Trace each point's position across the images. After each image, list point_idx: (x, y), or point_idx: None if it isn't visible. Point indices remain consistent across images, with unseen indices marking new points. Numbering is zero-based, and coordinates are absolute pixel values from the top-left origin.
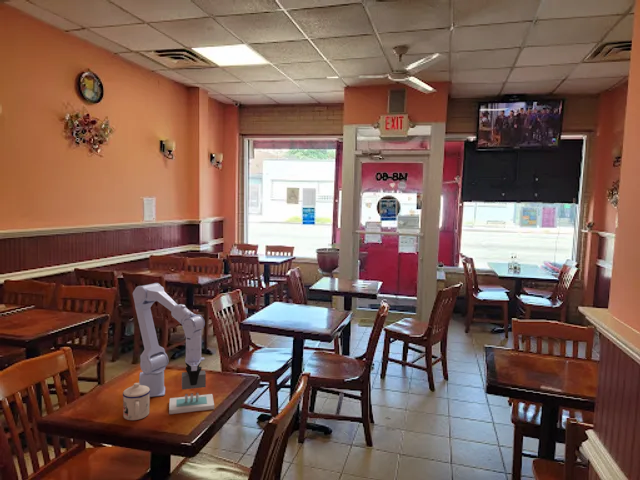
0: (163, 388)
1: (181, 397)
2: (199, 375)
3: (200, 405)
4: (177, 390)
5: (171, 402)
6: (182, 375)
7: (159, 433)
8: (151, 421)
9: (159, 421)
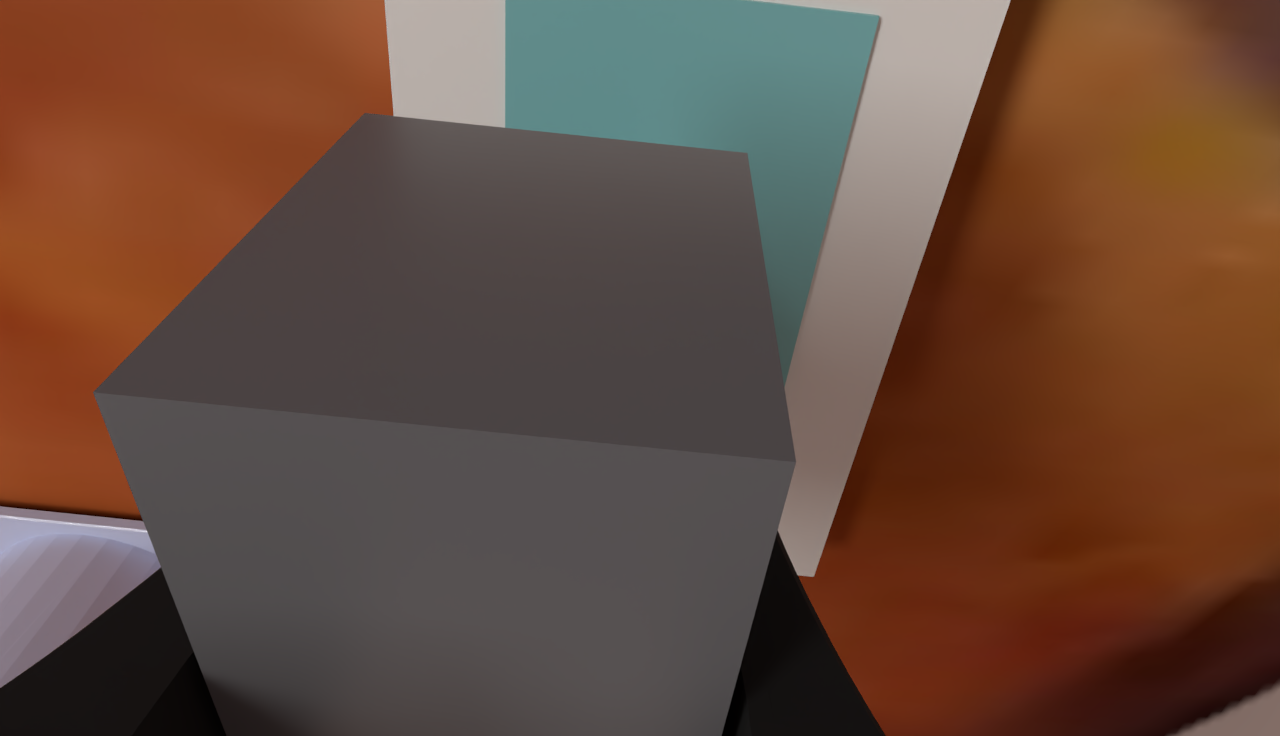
0: (95, 577)
1: None
2: (735, 663)
3: (897, 168)
4: (30, 370)
5: None
6: None
7: (1215, 641)
8: (887, 670)
9: (935, 619)
